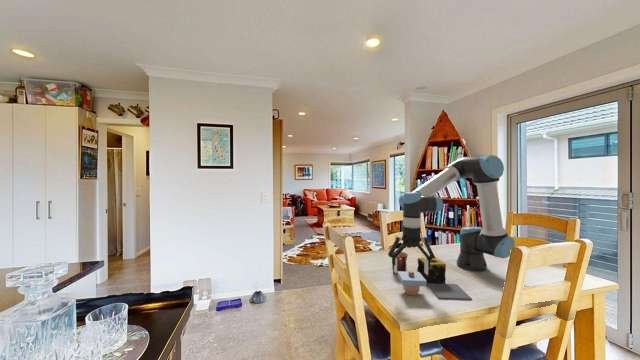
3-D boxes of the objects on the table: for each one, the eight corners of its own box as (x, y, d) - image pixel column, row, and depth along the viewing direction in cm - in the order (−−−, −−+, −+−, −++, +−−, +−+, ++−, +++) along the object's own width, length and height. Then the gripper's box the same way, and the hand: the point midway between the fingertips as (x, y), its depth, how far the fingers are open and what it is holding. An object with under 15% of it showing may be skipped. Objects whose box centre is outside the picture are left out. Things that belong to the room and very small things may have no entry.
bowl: (416, 289, 117) (416, 278, 117) (421, 296, 110) (421, 284, 110) (401, 288, 118) (401, 277, 118) (405, 296, 111) (405, 284, 111)
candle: (416, 276, 133) (416, 257, 132) (434, 275, 134) (435, 256, 133) (426, 284, 123) (426, 264, 122) (446, 283, 123) (446, 263, 123)
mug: (390, 268, 143) (390, 251, 143) (406, 270, 141) (406, 251, 141) (392, 277, 131) (392, 257, 131) (409, 278, 129) (409, 259, 129)
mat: (456, 285, 121) (456, 284, 121) (471, 299, 107) (471, 298, 107) (426, 284, 122) (426, 283, 122) (438, 298, 108) (438, 297, 108)
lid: (419, 276, 119) (419, 268, 119) (426, 286, 109) (426, 277, 109) (397, 276, 119) (397, 268, 119) (402, 285, 109) (402, 276, 109)
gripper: (436, 225, 116) (435, 270, 117) (382, 224, 118) (381, 268, 119) (443, 228, 109) (442, 277, 109) (385, 227, 111) (384, 274, 111)
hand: (410, 272), depth 114 cm, fingers open, 13 cm apart
